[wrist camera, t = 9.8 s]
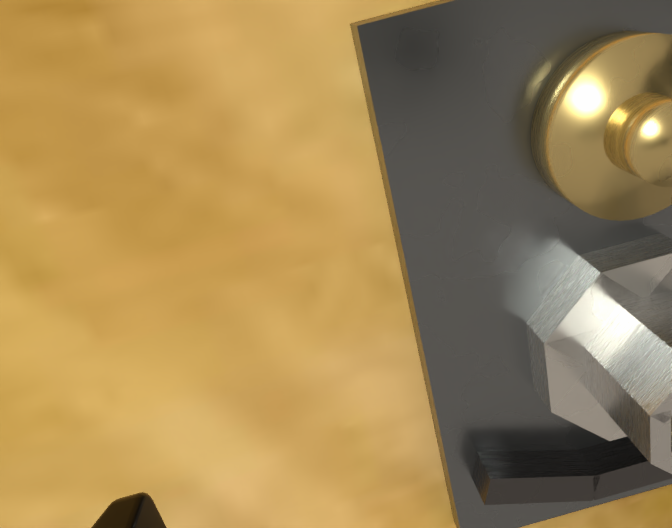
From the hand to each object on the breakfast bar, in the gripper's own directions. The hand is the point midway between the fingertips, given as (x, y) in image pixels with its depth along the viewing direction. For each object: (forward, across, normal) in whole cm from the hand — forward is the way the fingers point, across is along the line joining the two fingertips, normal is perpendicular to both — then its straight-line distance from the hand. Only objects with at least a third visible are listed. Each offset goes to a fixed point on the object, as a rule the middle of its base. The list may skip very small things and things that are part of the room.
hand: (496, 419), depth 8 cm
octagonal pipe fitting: (+11, -8, +8) cm, 16 cm away
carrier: (+12, -8, +6) cm, 16 cm away
